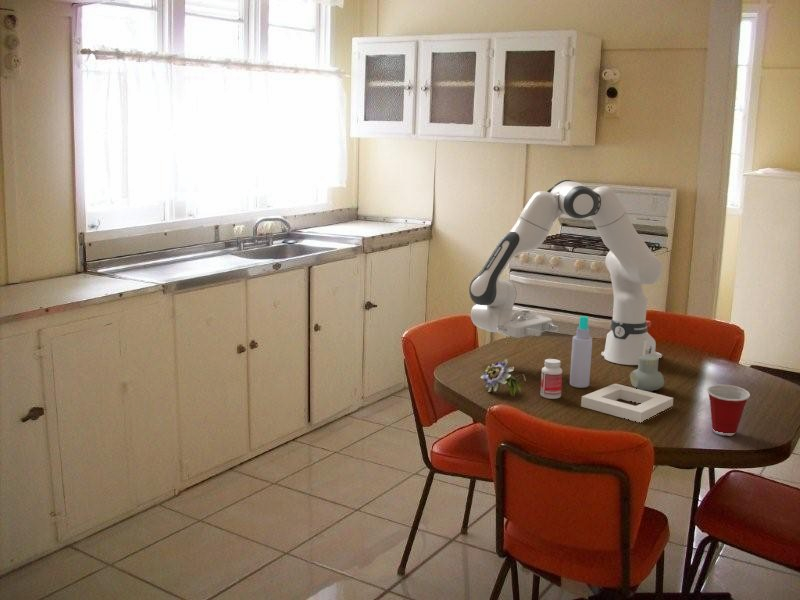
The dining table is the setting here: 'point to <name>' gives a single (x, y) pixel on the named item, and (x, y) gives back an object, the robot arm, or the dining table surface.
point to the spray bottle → (581, 355)
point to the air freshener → (647, 374)
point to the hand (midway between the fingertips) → (548, 331)
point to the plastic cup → (726, 406)
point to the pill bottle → (551, 379)
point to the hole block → (607, 404)
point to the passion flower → (500, 377)
